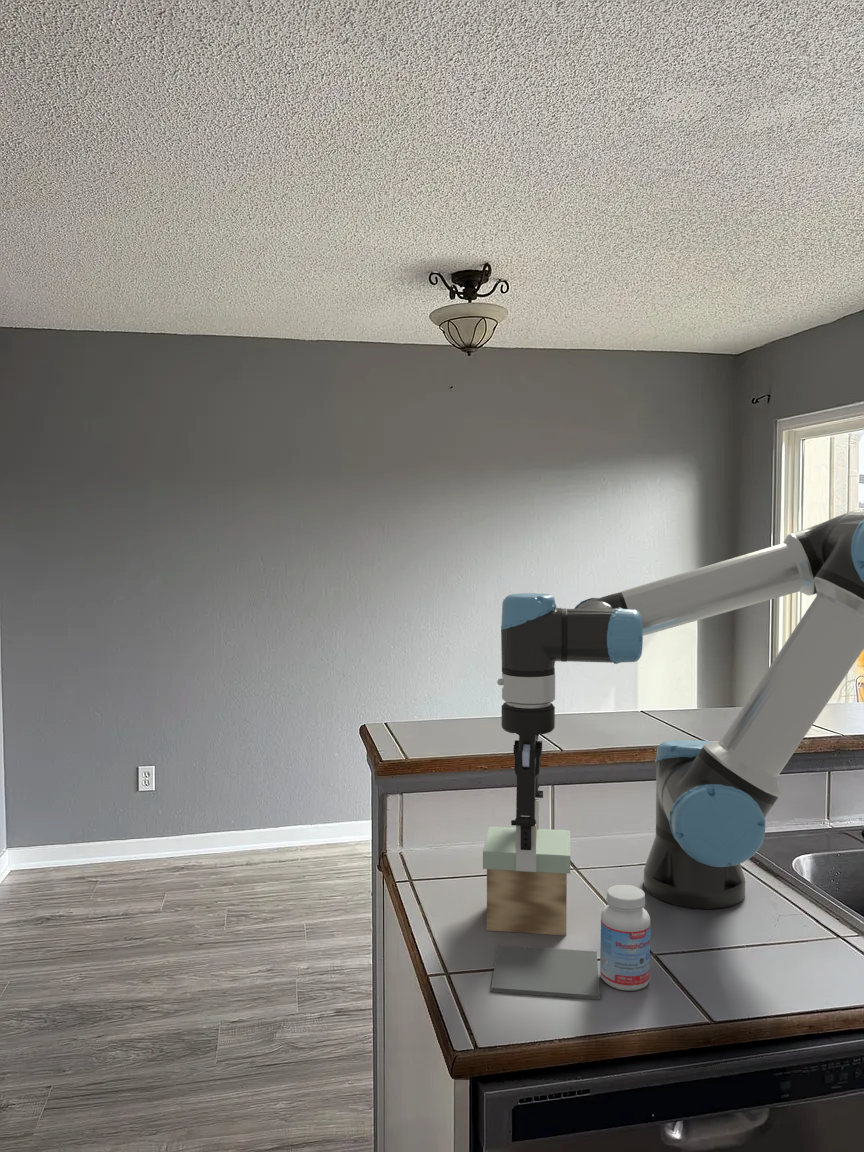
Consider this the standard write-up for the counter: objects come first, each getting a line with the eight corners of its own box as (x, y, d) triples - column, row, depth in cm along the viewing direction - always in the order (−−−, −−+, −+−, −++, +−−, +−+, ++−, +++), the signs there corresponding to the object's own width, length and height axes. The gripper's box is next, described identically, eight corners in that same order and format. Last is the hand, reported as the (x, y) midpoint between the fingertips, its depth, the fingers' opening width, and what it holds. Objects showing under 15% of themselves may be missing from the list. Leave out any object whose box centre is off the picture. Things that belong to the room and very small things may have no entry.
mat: (596, 955, 117) (596, 951, 117) (599, 999, 106) (599, 995, 106) (498, 948, 119) (498, 944, 119) (491, 991, 108) (491, 987, 108)
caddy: (566, 907, 131) (566, 847, 131) (566, 935, 122) (566, 871, 122) (492, 902, 133) (492, 844, 132) (486, 930, 124) (486, 867, 123)
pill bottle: (619, 997, 107) (619, 906, 106) (590, 973, 112) (591, 886, 111) (660, 986, 109) (661, 897, 108) (630, 963, 115) (630, 878, 114)
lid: (570, 846, 131) (570, 823, 131) (570, 873, 121) (570, 848, 121) (489, 842, 133) (489, 819, 133) (482, 868, 123) (482, 844, 123)
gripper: (507, 687, 137) (507, 827, 139) (495, 719, 115) (495, 886, 116) (556, 688, 136) (555, 829, 138) (553, 721, 114) (552, 889, 115)
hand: (527, 855), depth 127 cm, fingers closed on lid, 10 cm apart
